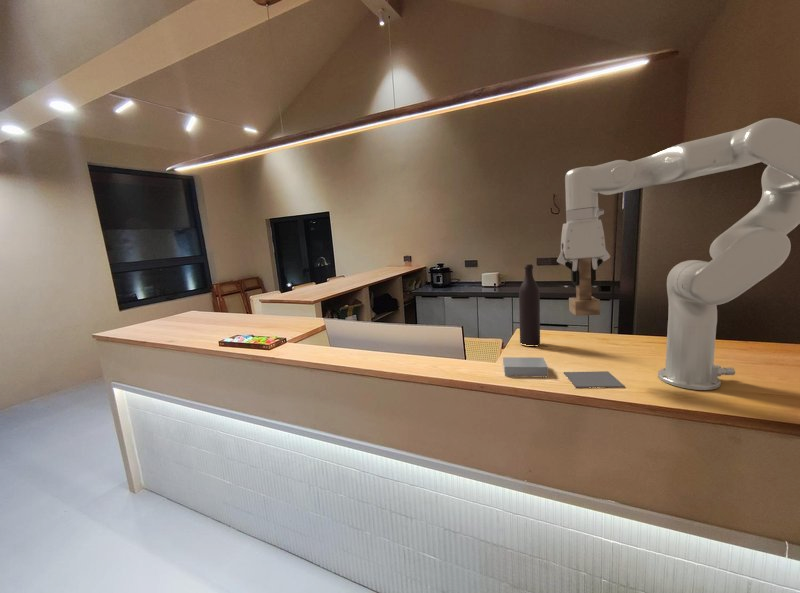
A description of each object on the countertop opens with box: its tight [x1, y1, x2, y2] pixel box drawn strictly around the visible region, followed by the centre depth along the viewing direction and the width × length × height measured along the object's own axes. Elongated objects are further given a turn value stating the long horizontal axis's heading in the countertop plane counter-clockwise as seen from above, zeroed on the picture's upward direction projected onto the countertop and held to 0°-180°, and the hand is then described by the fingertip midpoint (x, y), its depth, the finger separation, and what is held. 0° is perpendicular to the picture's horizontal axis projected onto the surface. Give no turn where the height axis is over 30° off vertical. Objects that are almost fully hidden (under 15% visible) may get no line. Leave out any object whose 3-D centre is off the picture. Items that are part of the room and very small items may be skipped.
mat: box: [563, 370, 626, 389], centre depth 95 cm, size 12×10×1 cm
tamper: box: [568, 258, 601, 317], centre depth 94 cm, size 6×6×16 cm
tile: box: [502, 356, 549, 378], centre depth 105 cm, size 3×8×12 cm
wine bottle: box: [518, 263, 541, 346], centre depth 126 cm, size 7×7×30 cm
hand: (583, 283), depth 94 cm, fingers closed on tamper, 3 cm apart
